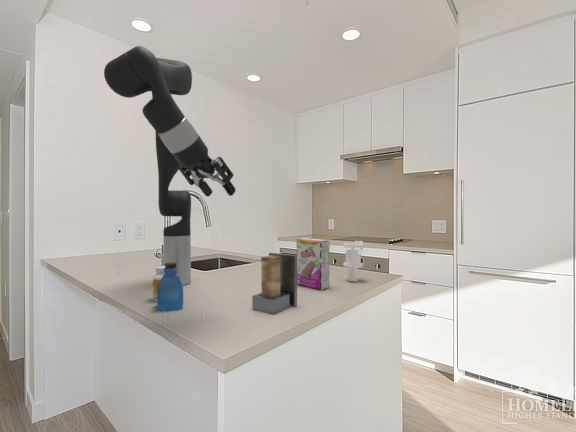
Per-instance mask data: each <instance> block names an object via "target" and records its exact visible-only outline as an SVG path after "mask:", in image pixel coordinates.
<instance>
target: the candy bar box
mask: <svg viewBox="0 0 576 432" xmlns="http://www.w3.org/2000/svg"><path fill="white" fill-rule="evenodd" d="M296 255H297V286H303V287H306V288H309V289H315V290H318V291H324V290H326V289H329V288H330V240H328V239H321V238H320V239H318V238H309V237H301V238H297V239H296Z"/></svg>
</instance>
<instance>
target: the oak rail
mask: <svg viewBox="0 0 576 432" xmlns="http://www.w3.org/2000/svg"><path fill="white" fill-rule="evenodd" d="M260 258H261V259H260V260H261V293H262V296H263V297H267V298H272V299H274V298H276V297H279V296H280V260H281V257H279V256H269V255H266V256H262V257H260Z"/></svg>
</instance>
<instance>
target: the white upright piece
mask: <svg viewBox="0 0 576 432" xmlns="http://www.w3.org/2000/svg"><path fill="white" fill-rule="evenodd" d="M343 247H344V248H347V249H346V250H345V261H344V262H343V263H342V264H343V267H345V268H348V282H350V281H357V282H358V269H361V268H363V267H364V266H363V265H364V263H363V262H361V261H362V258H361V257H362V255H361V254H362V252H363V251H364V241H363V240H355V242H344V243H343Z"/></svg>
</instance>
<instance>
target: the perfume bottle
mask: <svg viewBox="0 0 576 432" xmlns="http://www.w3.org/2000/svg"><path fill="white" fill-rule="evenodd" d="M176 265H177V263H174V262H171V263H165V268H164V272H165V275H163V277H162V279H161V281H160V283H159V286H158V288H157V304H156V305H157V308H156V310H157V311H160V312H164V311H163V310H172V311H180V310H179V309H182V310H183V309H184V308H183V307H184V285H183V280H182V278H181V277H180V275H179V274H176V272H177V267H176Z"/></svg>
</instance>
